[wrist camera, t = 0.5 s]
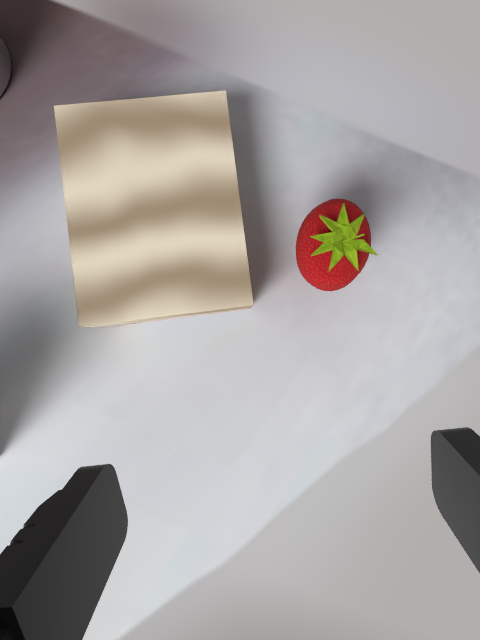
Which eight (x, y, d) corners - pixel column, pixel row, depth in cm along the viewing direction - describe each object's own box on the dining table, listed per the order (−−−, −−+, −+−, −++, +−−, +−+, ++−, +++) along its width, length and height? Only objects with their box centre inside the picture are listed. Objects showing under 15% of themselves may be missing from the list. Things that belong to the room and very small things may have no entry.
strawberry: (351, 228, 34) (404, 184, 24) (337, 303, 34) (385, 290, 24) (292, 215, 34) (321, 166, 24) (277, 291, 34) (301, 273, 24)
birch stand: (79, 140, 33) (54, 106, 28) (225, 126, 34) (225, 90, 29) (101, 327, 33) (79, 326, 28) (248, 309, 33) (253, 304, 28)
